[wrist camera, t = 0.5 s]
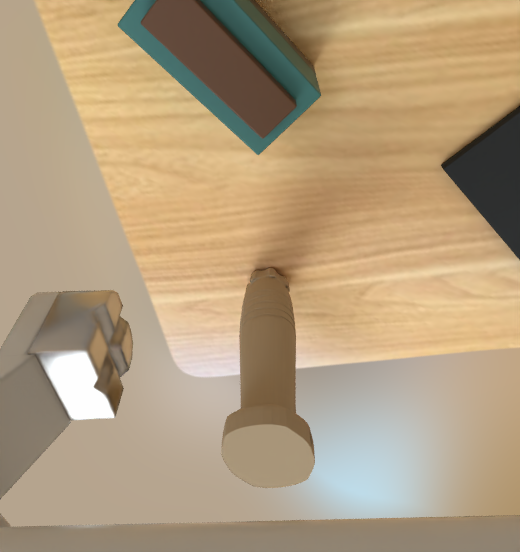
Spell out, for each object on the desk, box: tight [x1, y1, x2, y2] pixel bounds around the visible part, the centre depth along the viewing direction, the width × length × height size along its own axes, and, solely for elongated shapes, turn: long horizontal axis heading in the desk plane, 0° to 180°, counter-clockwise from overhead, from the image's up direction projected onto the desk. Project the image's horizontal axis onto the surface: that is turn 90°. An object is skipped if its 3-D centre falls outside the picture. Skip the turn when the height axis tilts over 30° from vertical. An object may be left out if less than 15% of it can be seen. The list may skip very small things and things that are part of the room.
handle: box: [221, 268, 315, 488], centre depth 32 cm, size 5×6×15 cm
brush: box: [118, 0, 321, 155], centre depth 24 cm, size 4×9×6 cm, turn 45°
